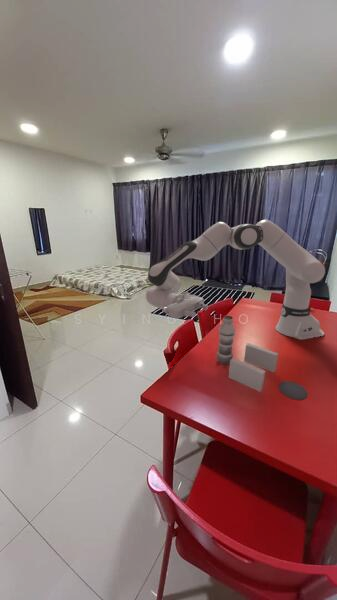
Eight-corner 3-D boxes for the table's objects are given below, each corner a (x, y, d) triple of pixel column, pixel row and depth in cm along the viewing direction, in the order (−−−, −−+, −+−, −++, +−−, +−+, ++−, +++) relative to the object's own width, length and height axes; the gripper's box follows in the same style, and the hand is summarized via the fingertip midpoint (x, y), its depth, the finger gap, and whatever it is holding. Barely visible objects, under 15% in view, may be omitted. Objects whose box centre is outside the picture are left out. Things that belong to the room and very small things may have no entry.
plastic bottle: (232, 358, 102) (237, 315, 95) (231, 367, 96) (236, 322, 89) (217, 355, 104) (221, 313, 97) (214, 364, 98) (218, 320, 91)
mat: (297, 381, 89) (297, 380, 89) (313, 399, 80) (313, 398, 80) (274, 382, 88) (274, 381, 88) (287, 400, 80) (287, 400, 79)
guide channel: (228, 377, 91) (230, 360, 88) (246, 358, 102) (248, 343, 99) (260, 391, 83) (263, 373, 81) (275, 369, 95) (278, 353, 92)
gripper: (159, 303, 100) (186, 311, 92) (188, 291, 115) (214, 297, 107) (159, 316, 102) (186, 326, 94) (188, 303, 117) (213, 311, 109)
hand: (201, 311), depth 101 cm, fingers open, 8 cm apart
